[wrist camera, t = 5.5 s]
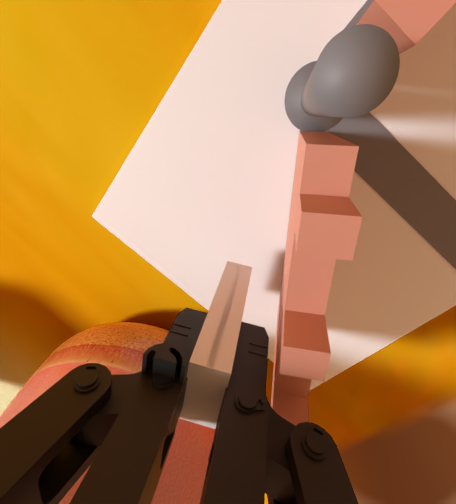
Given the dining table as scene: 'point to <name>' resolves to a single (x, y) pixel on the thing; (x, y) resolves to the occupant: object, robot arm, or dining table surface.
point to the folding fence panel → (312, 266)
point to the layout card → (282, 174)
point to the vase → (125, 362)
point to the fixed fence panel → (368, 57)
